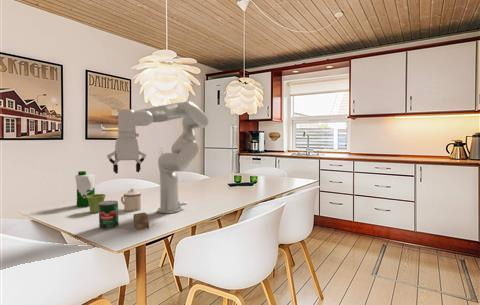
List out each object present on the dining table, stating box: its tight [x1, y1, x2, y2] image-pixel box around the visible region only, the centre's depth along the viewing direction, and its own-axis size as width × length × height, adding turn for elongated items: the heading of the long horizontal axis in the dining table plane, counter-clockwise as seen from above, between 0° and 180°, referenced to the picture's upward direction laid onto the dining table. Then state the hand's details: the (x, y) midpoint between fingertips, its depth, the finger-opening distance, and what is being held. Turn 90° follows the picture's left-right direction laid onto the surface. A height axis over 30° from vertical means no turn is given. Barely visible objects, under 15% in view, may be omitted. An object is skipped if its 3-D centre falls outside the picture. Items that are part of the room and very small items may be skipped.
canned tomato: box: [98, 200, 120, 231], centre depth 125 cm, size 8×8×11 cm
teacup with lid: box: [120, 188, 142, 212], centre depth 155 cm, size 12×9×12 cm
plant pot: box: [86, 193, 107, 214], centre depth 150 cm, size 9×9×9 cm
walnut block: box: [133, 211, 150, 231], centre depth 124 cm, size 5×5×6 cm
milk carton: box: [74, 170, 96, 208], centre depth 164 cm, size 9×9×20 cm
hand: (127, 172), depth 131 cm, fingers open, 9 cm apart
